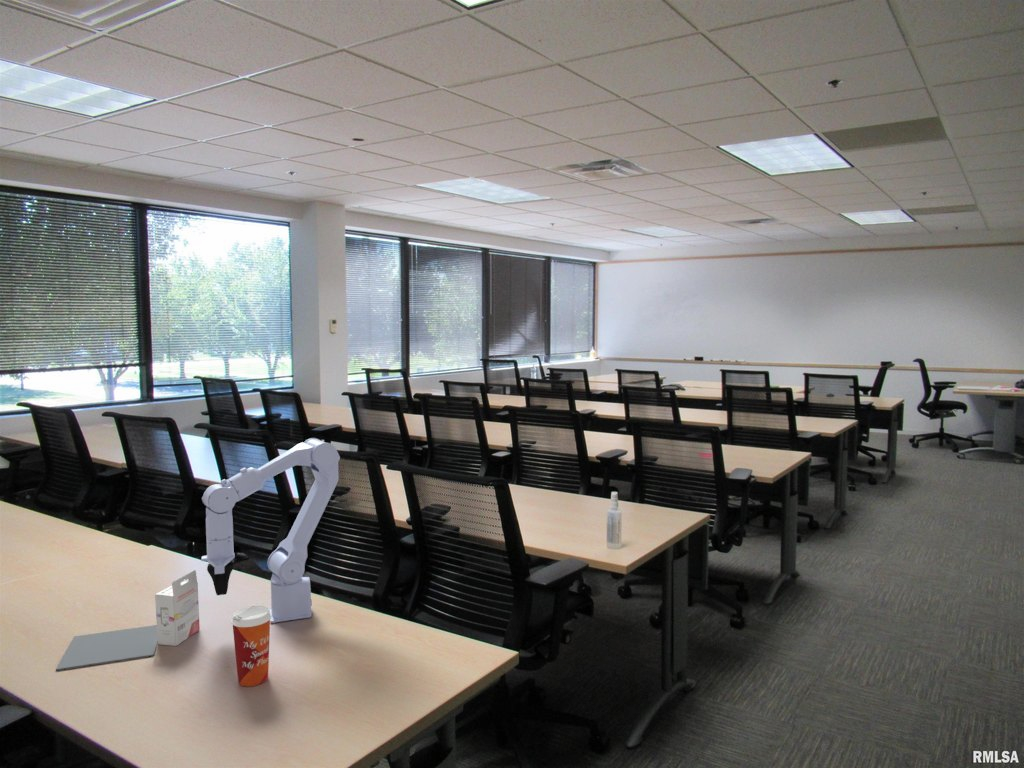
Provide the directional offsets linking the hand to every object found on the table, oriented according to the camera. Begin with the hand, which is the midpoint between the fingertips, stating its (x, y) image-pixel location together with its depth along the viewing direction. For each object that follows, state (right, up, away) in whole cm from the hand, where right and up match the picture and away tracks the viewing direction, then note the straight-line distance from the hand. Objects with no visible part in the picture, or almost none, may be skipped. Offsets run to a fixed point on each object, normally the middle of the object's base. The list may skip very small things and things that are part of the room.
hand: (221, 593), depth 158 cm
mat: (-21, -10, -7) cm, 24 cm away
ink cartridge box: (-9, -9, -3) cm, 13 cm away
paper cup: (+15, -11, -21) cm, 28 cm away
